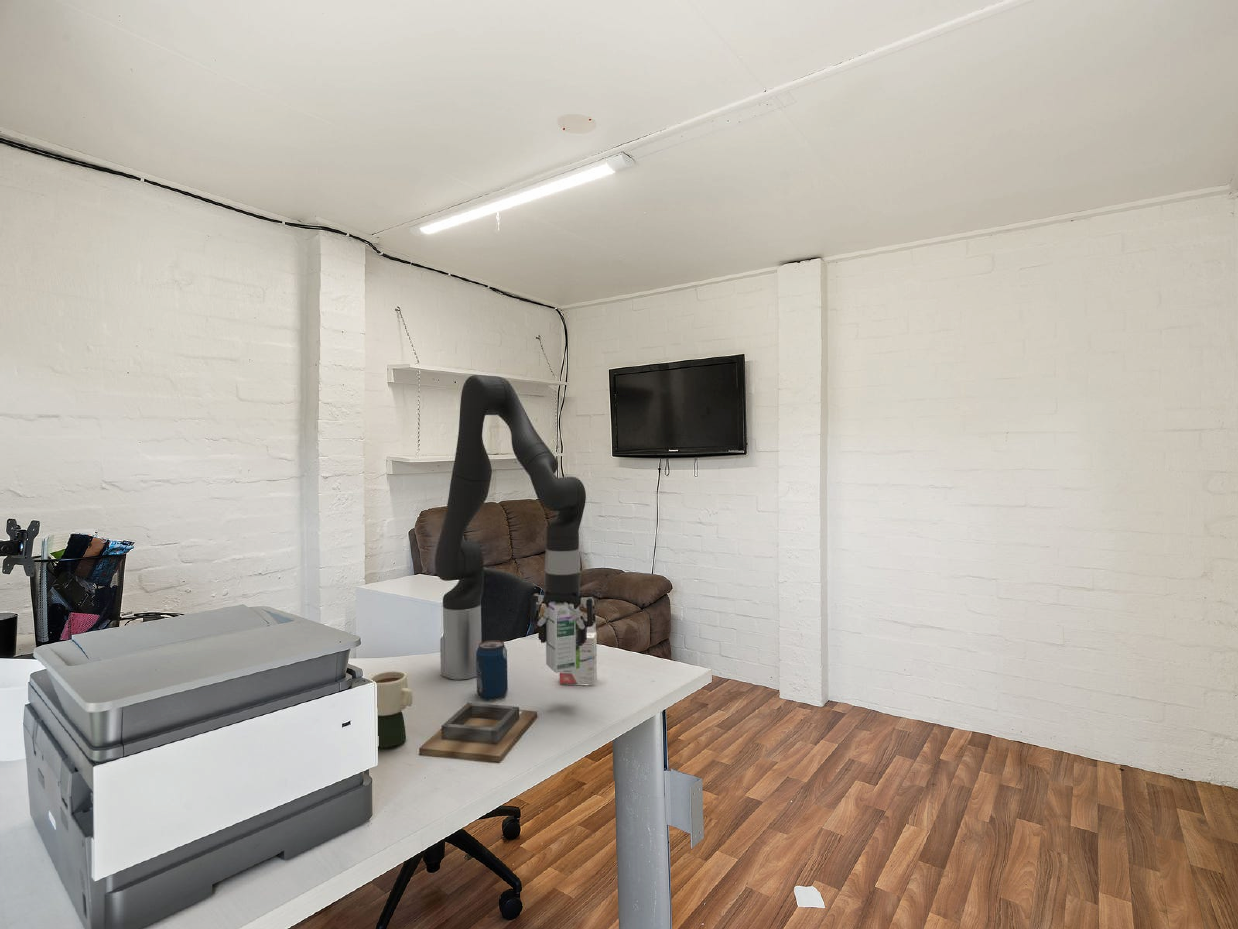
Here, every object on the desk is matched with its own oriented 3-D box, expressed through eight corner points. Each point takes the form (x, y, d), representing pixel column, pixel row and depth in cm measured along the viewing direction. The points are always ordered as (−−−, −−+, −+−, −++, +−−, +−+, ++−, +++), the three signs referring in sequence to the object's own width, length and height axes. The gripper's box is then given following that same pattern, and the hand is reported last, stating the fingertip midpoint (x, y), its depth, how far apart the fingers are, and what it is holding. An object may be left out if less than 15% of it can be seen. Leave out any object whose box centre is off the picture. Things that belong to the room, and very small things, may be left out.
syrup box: (555, 673, 138) (555, 605, 138) (545, 664, 144) (545, 599, 143) (580, 669, 141) (580, 602, 140) (569, 660, 146) (569, 596, 146)
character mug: (424, 739, 127) (423, 673, 127) (400, 756, 121) (398, 686, 120) (379, 731, 131) (377, 667, 131) (353, 747, 125) (351, 679, 124)
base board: (419, 754, 121) (418, 734, 121) (466, 711, 141) (466, 694, 141) (499, 762, 118) (499, 742, 118) (537, 717, 137) (537, 699, 137)
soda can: (513, 692, 151) (512, 641, 151) (497, 703, 145) (497, 650, 144) (487, 688, 154) (486, 638, 153) (470, 699, 147) (469, 646, 147)
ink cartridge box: (559, 685, 155) (558, 624, 155) (562, 678, 160) (562, 618, 160) (594, 686, 154) (594, 624, 154) (597, 678, 159) (596, 619, 159)
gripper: (525, 571, 139) (525, 646, 140) (590, 574, 136) (589, 651, 137) (537, 564, 147) (537, 636, 147) (598, 567, 144) (598, 640, 144)
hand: (562, 643), depth 142 cm, fingers closed on syrup box, 8 cm apart
